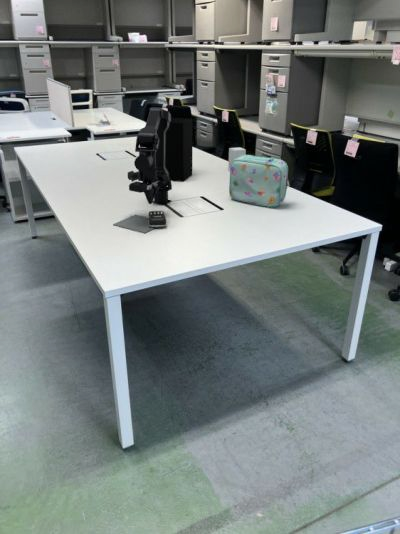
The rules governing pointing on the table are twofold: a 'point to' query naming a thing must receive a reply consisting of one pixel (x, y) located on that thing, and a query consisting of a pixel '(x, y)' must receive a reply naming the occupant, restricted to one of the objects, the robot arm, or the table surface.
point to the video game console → (179, 149)
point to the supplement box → (235, 154)
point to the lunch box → (258, 180)
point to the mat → (135, 223)
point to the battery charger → (156, 219)
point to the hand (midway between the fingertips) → (150, 203)
